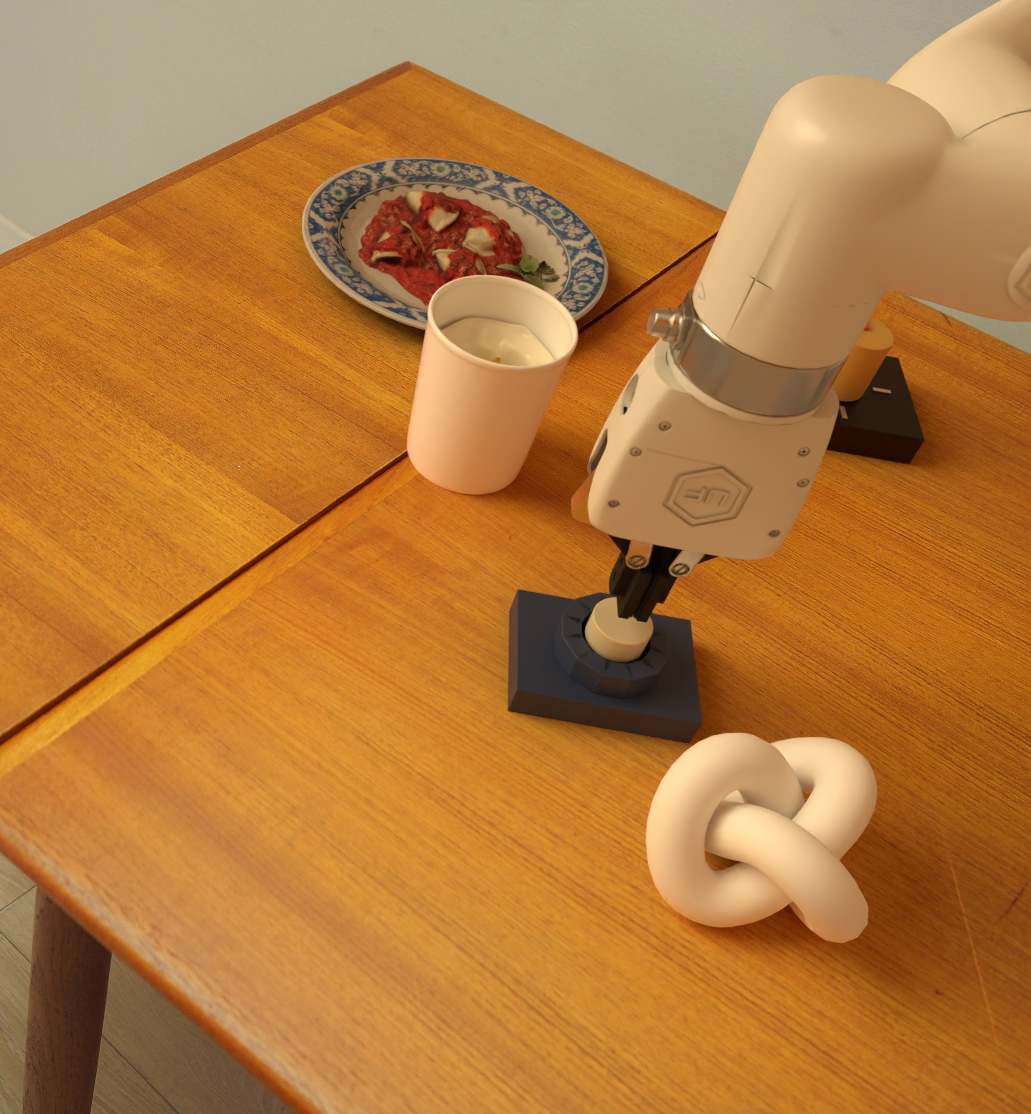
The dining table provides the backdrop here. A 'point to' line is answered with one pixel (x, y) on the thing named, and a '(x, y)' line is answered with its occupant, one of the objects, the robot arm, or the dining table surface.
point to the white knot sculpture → (763, 832)
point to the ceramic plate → (446, 235)
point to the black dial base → (880, 419)
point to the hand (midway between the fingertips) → (630, 601)
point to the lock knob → (863, 361)
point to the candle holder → (486, 380)
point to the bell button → (616, 633)
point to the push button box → (600, 671)
